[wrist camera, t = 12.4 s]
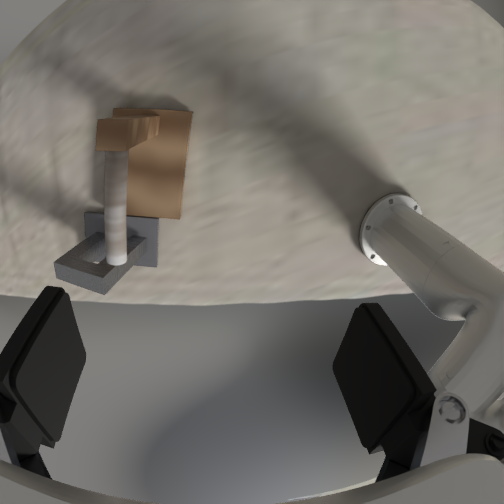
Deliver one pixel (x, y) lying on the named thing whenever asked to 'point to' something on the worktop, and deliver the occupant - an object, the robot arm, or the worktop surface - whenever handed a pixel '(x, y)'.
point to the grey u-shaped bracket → (97, 275)
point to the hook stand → (141, 169)
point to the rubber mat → (129, 233)
